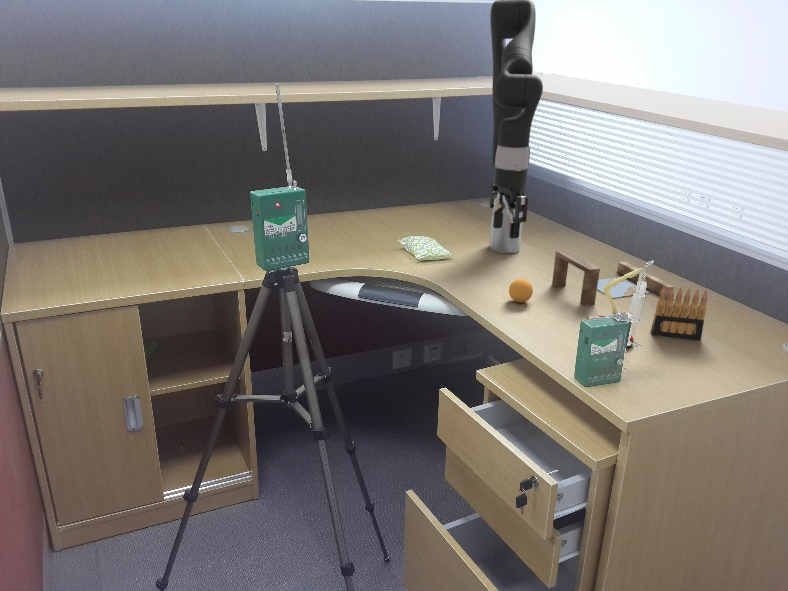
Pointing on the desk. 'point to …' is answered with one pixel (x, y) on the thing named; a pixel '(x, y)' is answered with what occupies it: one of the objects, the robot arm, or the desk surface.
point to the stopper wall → (652, 281)
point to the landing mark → (616, 287)
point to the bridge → (589, 269)
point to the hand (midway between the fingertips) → (505, 232)
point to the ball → (520, 290)
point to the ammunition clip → (679, 316)
